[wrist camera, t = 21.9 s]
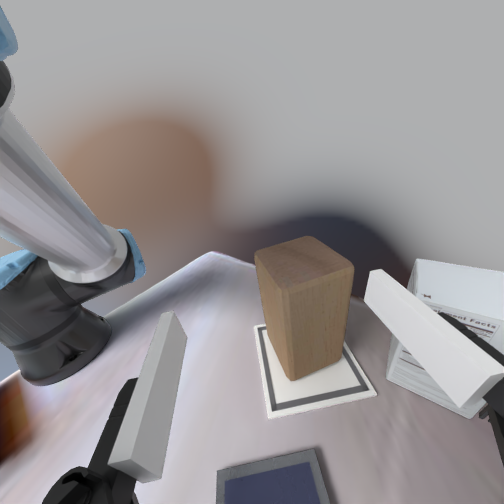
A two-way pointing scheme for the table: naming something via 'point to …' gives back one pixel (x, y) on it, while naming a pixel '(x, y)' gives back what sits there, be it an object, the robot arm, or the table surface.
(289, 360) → the wooden block
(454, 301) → the supplement box
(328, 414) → the table surface
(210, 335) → the table surface
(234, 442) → the table surface
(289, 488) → the ink pad
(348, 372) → the mat
